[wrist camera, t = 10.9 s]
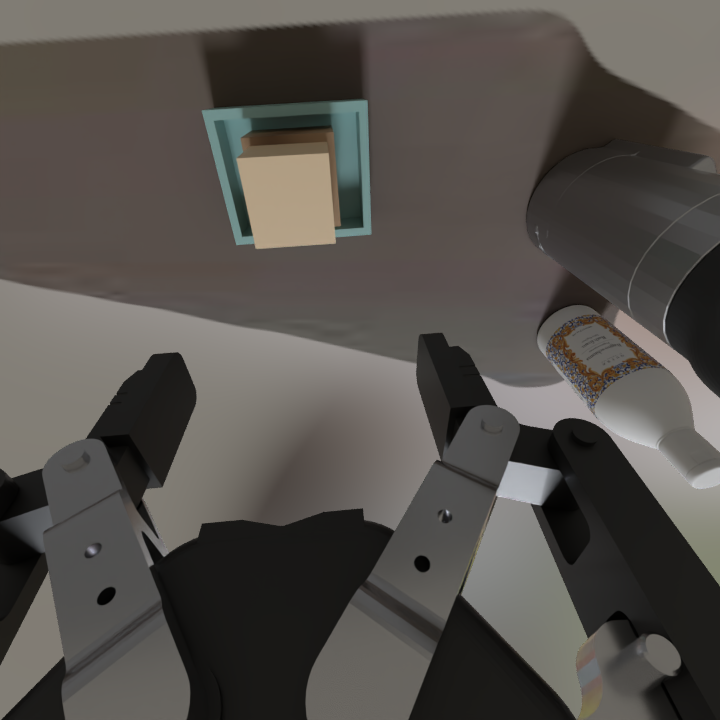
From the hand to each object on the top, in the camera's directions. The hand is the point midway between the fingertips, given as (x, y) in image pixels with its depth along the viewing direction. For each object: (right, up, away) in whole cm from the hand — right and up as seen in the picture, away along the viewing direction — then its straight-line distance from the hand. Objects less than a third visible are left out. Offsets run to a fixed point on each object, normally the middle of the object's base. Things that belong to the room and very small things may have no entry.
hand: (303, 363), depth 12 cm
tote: (-3, +16, +17) cm, 23 cm away
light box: (-3, +12, +13) cm, 18 cm away
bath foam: (+26, +4, +30) cm, 39 cm away
